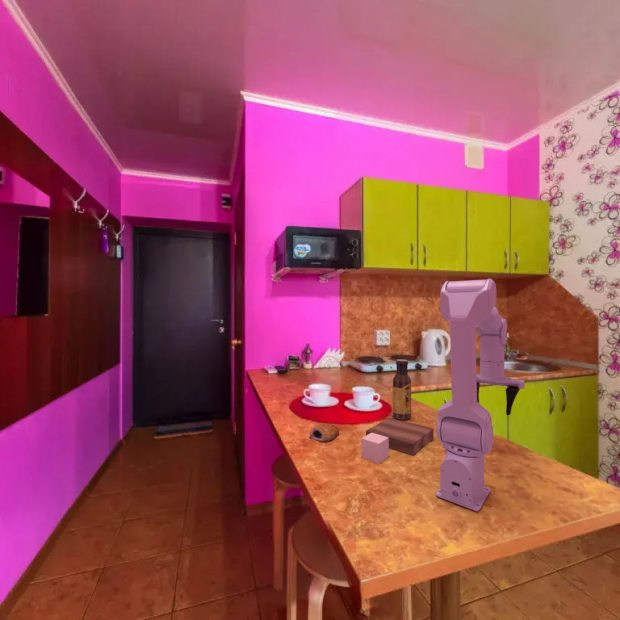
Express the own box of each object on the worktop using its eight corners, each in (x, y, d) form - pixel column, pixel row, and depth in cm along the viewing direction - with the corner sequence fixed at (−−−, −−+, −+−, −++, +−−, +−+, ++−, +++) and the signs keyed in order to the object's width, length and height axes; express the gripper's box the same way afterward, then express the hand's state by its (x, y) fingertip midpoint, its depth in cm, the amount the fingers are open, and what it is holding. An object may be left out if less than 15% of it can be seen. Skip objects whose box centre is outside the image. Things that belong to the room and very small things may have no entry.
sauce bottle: (409, 422, 108) (408, 362, 108) (390, 418, 111) (390, 360, 111) (413, 416, 113) (413, 359, 113) (395, 413, 117) (395, 358, 116)
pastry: (327, 429, 103) (327, 417, 102) (345, 435, 98) (345, 422, 98) (307, 438, 95) (307, 425, 95) (325, 445, 91) (325, 431, 91)
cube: (378, 464, 79) (378, 443, 79) (361, 457, 83) (361, 438, 83) (388, 456, 83) (388, 437, 83) (371, 451, 86) (371, 432, 86)
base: (413, 455, 84) (412, 443, 84) (366, 441, 93) (365, 430, 93) (433, 438, 94) (433, 428, 94) (389, 427, 103) (389, 417, 103)
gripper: (526, 361, 86) (526, 413, 86) (467, 356, 95) (467, 402, 95) (521, 365, 80) (521, 420, 80) (460, 359, 90) (460, 408, 90)
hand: (492, 411), depth 88 cm, fingers open, 7 cm apart
